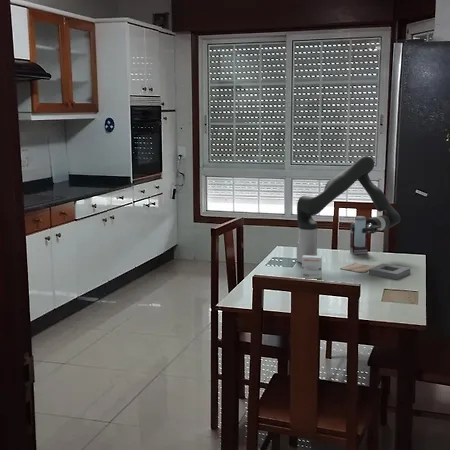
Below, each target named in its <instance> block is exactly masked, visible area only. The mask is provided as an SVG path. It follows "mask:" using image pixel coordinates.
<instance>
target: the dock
mask: <svg viewBox="0 0 450 450" xmlns="http://www.w3.org/2000/svg"><path fill="white" fill-rule="evenodd" d="M374 266H375V265H374ZM409 274H411V267H406V266H400V265H394V264H389V263H380V264H378V265H376V266H375V267H373V268H370V269H369V271H368V275H370V276H377V277H381V278H386V279H393V280H399V279H401V278H403V277H405V276H408V275H409Z"/></svg>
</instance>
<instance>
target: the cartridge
mask: <svg viewBox="0 0 450 450" xmlns="http://www.w3.org/2000/svg"><path fill="white" fill-rule="evenodd" d="M366 220H367V218H366V216H363V215H356V216H354V223H355V236H354V246H356V247H364V246H365V233H362V229H363V228H365V226H366Z"/></svg>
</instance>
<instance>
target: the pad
mask: <svg viewBox="0 0 450 450" xmlns="http://www.w3.org/2000/svg"><path fill="white" fill-rule="evenodd" d="M373 267H375V265H370V264H364V263H358V262H353V263H350V264H348V265H345V266H343V267H340V268H339V269H340V270H343V271H349V272H355V273H361V274H364V273H367V272H369V269H370V268H373Z"/></svg>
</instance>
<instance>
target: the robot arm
mask: <svg viewBox="0 0 450 450" xmlns="http://www.w3.org/2000/svg"><path fill="white" fill-rule="evenodd" d="M374 167H375V161H374V159H373V158H372V157H371V156H369V155H368V156H367V155H363V156H360V157H359V158H358V159H356V160H355V162H354V163H353V164H352V165H351V166H349V167H348V168H346V169H344V170H343V171H341V172H339V173H337V174H336V175H335V176H333V177H332V178H330V179H329V180H328V181H327V182H326V184H325V186H324V189H323V191H321V193H319V194H317V195H316V196H311V195H302V196H300V197H299V198H298V200H297V202H296V218H297V220H296V221H297V224H298V242H297V243H296V262H298V263H301V264H302V257H303V255H309V256H318V223H317V222H318V221H315V220H314V218H313V216H317V215H318V214H320V213H321V212H322V210H324V209H325V208H326V206H328V205H329V204H330V203H331V202H333V201H334V200H335V199H337V198H338V197H339V196H341V195H342V194H343V193H345V192H346V191H347V190H349V189H350V188H351V187H352V186H353V184H354V183H356V182H357V181H358V182H359V183H360V185H361V186H362V187H363V189H364V190H365V192H366V193H367V194H368V196H369V198H370V199H371V201H372V203H373V205H374V207H375V209H376V210H377V212H381V213H382V212H385V211H386V212H387V213H386V214H383V215H379V216H373V217H370V218H366V226H365V228H363V229H362V233H366V232H368V234H371V235H372V234H375V233H378V232H381V231H383V230H388V229H390V228H392V227H394V226H396V225H397V224H399V223H400V222H401V215H400V214H399V212H398V211H397V210H396V209H395V208H394V207H393V205H391V203H390V202H389V201H388V198H387V197H386V196H387V195H385V193H384V192H383V190H382V189H380V188H379V187H378V186H377V185H376V184H374V183H373V181H372V180H371V178H370V176H369V174H370V173H371V172H372V171H373V169H374ZM354 231H355V224H353V225H352V232H354Z"/></svg>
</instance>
